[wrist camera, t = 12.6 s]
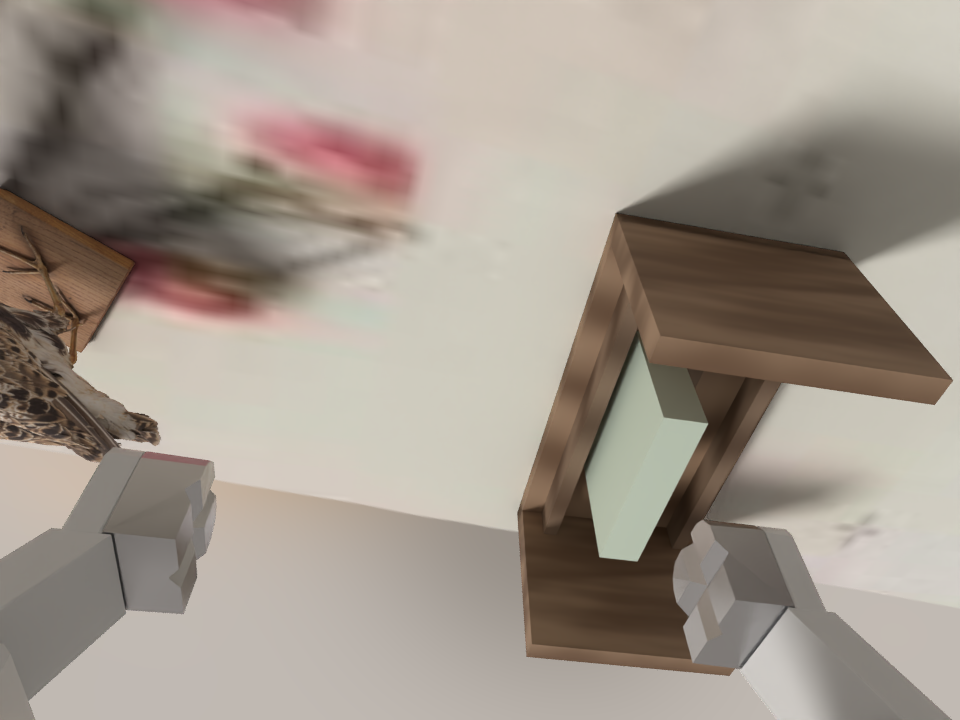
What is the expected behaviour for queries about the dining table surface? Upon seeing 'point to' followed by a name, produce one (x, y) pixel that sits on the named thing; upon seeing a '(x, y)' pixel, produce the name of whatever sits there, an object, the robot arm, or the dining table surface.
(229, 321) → the dining table surface
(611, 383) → the wooden book rack
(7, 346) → the stuffed bird
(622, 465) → the pale green rectangular block
